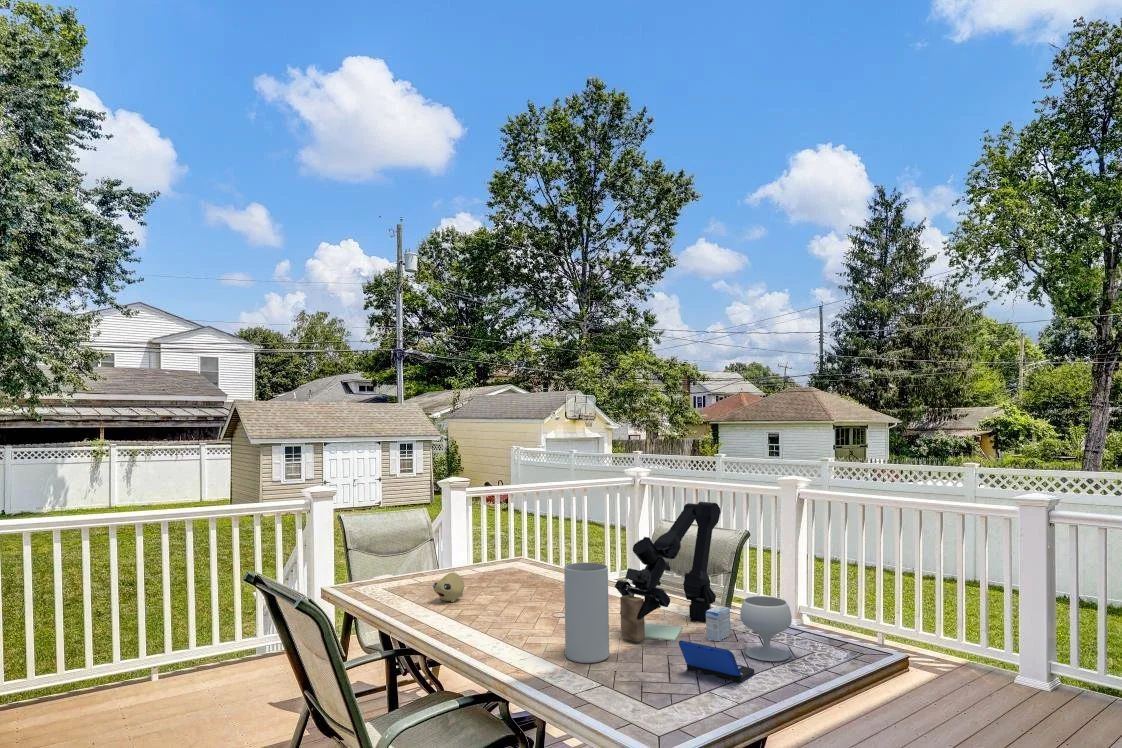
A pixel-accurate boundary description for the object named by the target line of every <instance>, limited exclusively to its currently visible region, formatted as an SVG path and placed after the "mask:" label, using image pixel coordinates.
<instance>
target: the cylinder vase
mask: <svg viewBox="0 0 1122 748" xmlns="http://www.w3.org/2000/svg"><path fill="white" fill-rule="evenodd" d="M563 571H564V572H563V573H564V579H563V580H564V641H565V642H564V651H565V653H564V654H565V657H566V658H567V659H568V660H570V661H572V662H574V663H580V664H594V663H595V664H596V663H600V662H604V661H605V660H606V659H608V658H609V657H610V624H609V623H610V621H609V619H610V618H609V615H610V614H609V613H610V611H609V607H610V606H609V566H608V565H607V564H605V563H599V562H590V561H589V562H574V563H569V564H568V563H567V564H566V565H564V569H563Z"/></svg>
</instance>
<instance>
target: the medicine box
mask: <svg viewBox="0 0 1122 748" xmlns="http://www.w3.org/2000/svg"><path fill="white" fill-rule="evenodd" d="M705 629H706V630H705V632H706V634H705V635H706V640H707V639H711V640H716V641H720V642H722V641H723V640H725V639H727V638H728V637H730V636H731V608H730V607H726V606H721V605H715V606H714V607H711V609H709V610H707V611H706V622H705ZM729 635H730V636H729ZM726 637H727V638H726ZM724 638H725V639H724ZM722 639H723V640H722ZM711 640H710V641H711ZM721 640H722V641H721ZM716 641H715V642H716Z"/></svg>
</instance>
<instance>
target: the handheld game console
mask: <svg viewBox="0 0 1122 748" xmlns="http://www.w3.org/2000/svg"><path fill="white" fill-rule="evenodd" d="M678 646H679V648H680V651H681V654H682V656H683V658H684V660H685V661H684V662H685V663H686V671H689V672H692V673H697V674H702V675H705V676H710V677H711V676H712V677H715V678H717V679H721V680H725V681H728V682H729V681H730V682H733V683H738V684H742V683H743V681H745V680H747V679H749V678H750V677H752V676H753V675H754V674H755V669H754V668H752V667H750V666H749V667H748V666H745V665H742V664H737V660H736V659H735V658H736V657H735V655H734V653H733V652H732V651H730V650H729V649H725V648H722V647H715V646H711V645H705V644H700V643H696V642H690V641H687V640H679V641H678Z"/></svg>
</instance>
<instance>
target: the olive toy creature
mask: <svg viewBox="0 0 1122 748" xmlns="http://www.w3.org/2000/svg"><path fill="white" fill-rule="evenodd" d="M432 588H433V591H434V593H435V594H436V595H438V597H439V598H440V601H441V600H444V601H445V602H451V603H452V602H454V601H455V602H456V600H457V599H459V598H462V597H463V595H464V594H463V593H464V590H465V581H464V580H463V578H462V577H461V575H459V574H458V573H457V572H453V571H452V572H449V573H448V574H446V575H445V576H443V577H442V578H441V579H440V580H438V581H437V582H434V583H433V585H432ZM455 602H454V603H455Z"/></svg>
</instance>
